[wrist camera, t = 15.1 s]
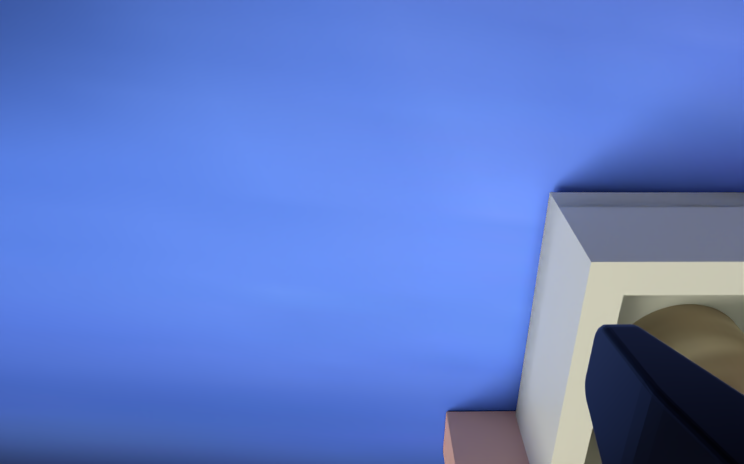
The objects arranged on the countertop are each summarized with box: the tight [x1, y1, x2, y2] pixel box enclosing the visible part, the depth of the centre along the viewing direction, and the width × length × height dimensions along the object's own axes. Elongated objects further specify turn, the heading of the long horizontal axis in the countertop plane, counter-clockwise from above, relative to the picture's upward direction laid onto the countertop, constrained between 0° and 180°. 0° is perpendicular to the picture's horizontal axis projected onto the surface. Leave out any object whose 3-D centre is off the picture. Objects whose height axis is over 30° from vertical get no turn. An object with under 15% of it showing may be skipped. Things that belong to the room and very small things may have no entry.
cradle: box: [515, 192, 744, 464], centre depth 20 cm, size 9×9×4 cm
